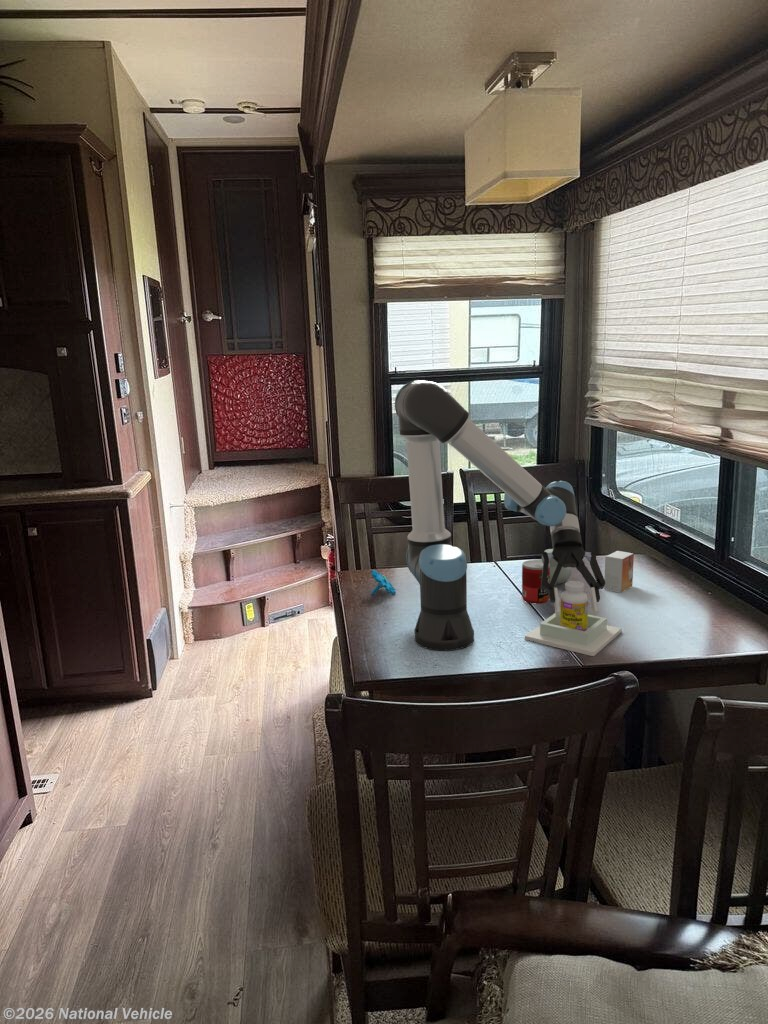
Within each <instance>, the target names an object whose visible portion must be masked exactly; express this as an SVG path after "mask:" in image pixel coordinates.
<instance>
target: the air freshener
mask: <svg viewBox="0 0 768 1024" xmlns="http://www.w3.org/2000/svg"><path fill="white" fill-rule="evenodd" d="M552 551H553V548H548V549H545V550H544V551H543V552H547V553H551V552H552ZM549 564H550V582H551V579H552V577H553V575H554V572H555V570H556V567H557V565H558V563H557V562H556V561H555V560H554V558H553V557H552V558H551V560H550V561H549ZM570 568H571V567H567V568H563V567H562V569H561V571H560V574H559V576H558V579H557V581H556V584H555V585H559V584H562V583H566V582H568V581H569V580H570V577H571V576H572V571H571V569H570Z"/></svg>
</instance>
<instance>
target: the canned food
mask: <svg viewBox="0 0 768 1024" xmlns="http://www.w3.org/2000/svg"><path fill="white" fill-rule="evenodd" d="M542 570H543V561H542V560H539V559H531V560H529V559H528V560H526V561H525V560H524V561H523V562H522V567H521V597H522V598H521V599H522V600H523V601H524V602H525V601H526V603H528V602H529V603H528V604H532V603H536V604H535V605H539V604H542V603H543V604H545V603H547V602H549V601H550V599H549V593H548V591H547V590H545V589H544V590H542V589H541V579H542ZM547 583H549V584H550V564H549V566H548V575H547Z"/></svg>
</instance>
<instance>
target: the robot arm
mask: <svg viewBox="0 0 768 1024" xmlns="http://www.w3.org/2000/svg"><path fill="white" fill-rule="evenodd" d="M394 410H395V413H396V416H397V417H398V429H399V436H400V437H401V438H402V439H404V440H405V442H406V455H407V470H408V472H407V473H408V483H409V497H410V512H411V525H412V530H411V531H410V532H409V533H408V535H407V546H408V548H407V550H406V552H405V554H406V555H405V557H406V558H405V561H406V564H407V565H406V566H407V568H408V571H409V572H410V573H411V574H412V576H413V577H414V578H415V579H416V581H417V582H418V584H419V591H420V593H419V596H420V597H419V598H420V599H419V600H420V612H419V615H418V619H417V621H416V625H415V628H414V642H415V643H416V644H417V645H418V646H420V647H422V648H425V649H428V650H433V651H455V650H461V649H463V648H467V647H469V646H471V644H473V643H474V641H475V630H474V628H473V625H472V621H471V618H470V616H469V613H468V609H467V608H468V607H467V606H468V604H467V602H468V599H467V597H468V596H467V593H468V592H467V591H468V589H467V588H468V587H467V586H468V585H467V569H468V563H467V558H466V557H467V556H466V554H465V552H464V551H463V550H462V549H461V548H460V547H457V546H453V545H452V533H451V532H450V531H449V530H447V529H446V526H445V525H446V524H445V513H444V511H445V509H444V496H443V495H444V494H443V478H442V464H441V463H442V461H441V447H440V445H441V444H443V445H444V444H445V445H446V444H449V445H450V446H451V447H452V448H453V449H455V450H456V451H457V452H458V453H459V454H460V455H461V456H463V457H464V458H465V459H466V460H467V461H469V462H470V463H471V464H472V465H473V466H474V467H475V468H476V469H477V470H478V471H480V473H482V474H483V475H484V476H485V477H486V478H487V479H489V480H490V481H491V482H492V483H493V484H495V486H497V487H498V488H499V489H500V490H502V491H503V492H504V496H503V497H504V498H503V503H504V507H505V508H506V509H507V511H508V510H509V511H513V512H515V513H516V512H518V513H523V514H524V515H526V516H527V517H530V518H532V519H533V520H535V521H536V522H538V523H539V524H540V525H543V526H546V527H549V529H550V535H551V537H550V538H551V545H552V549H553V551H552V552H551V553H547V552H544V551H543V552H542V555H541V561H543V570H542V579H541V589H542V590H544V589H545V590H547V591H548V593H549V603H551V604H552V603H553V605H554V614H556V616H559V614H560V609H561V604H560V598H559V590H558V587H555V586H556V585H557V584H556V581H557V579H558V576H559V574H560V571H561V569H562V567H563V568H567V567H569V568H572V569H574V568H575V569H576V570H577V571H578V572H579V573H580V575H581V576H582V578H583V579H584V580H585V581H586V583H587V585H588V586H589V587H590V590H589V599H590V604H591V611H592V615H593V616H598V615H597V614H598V613H599V608H598V603H599V602H600V600H601V595H600V590H603V589H604V586H605V580H604V578H605V577H604V576H603V573H602V570H601V568H600V566H599V565H600V564H599V562H598V560H597V552H596V551H595V550H592V551H591V552H590V551H589V552H588V551H585V550H584V549H585V548H584V547H583V543H582V535H581V529H580V523H579V517H578V511H577V510H578V509H577V504H576V503H577V502H576V496H575V492H574V488H573V486H572V485H571V484H570V483H569V482H568V481H564V480H559V481H552V482H550V483H549V484H548V485H546V487H545V486H544V485H542V484H541V482H539V481H538V480H537V479H536V478H535V477H534V476H533V475H532V474H531V473H530V472H528V471H527V470H526V469H525V468H524V467H523V466H522V465H521V464H519V463H518V462H517V460H515V458H513V457H512V456H511V455H510V454H508V452H507V451H505V450H504V449H503V448H502V447H501V446H500V445H499V444H498V443H496V442H495V441H494V440H493V439H492V438H491V437H490V436H489V435H487V434H486V433H485V432H484V431H483V430H482V429H481V428H480V427H479V426H478V425H476V424H475V423H474V421H472V420H471V415H470V413H469V412H468V410H466V409H465V407H463V406H462V405H461V404H460V403H459V401H458V400H457V399H455V397H453V395H452V394H451V393H450V392H449V391H448V390H447V389H446V388H445V387H444V386H442V385H441V384H440V383H437V382H434V381H430V380H429V381H428V380H425V379H422V380H421V379H420V380H419V379H416V380H411V381H409V382H407V383H405V384H403V386H401V387H400V389H399V390H398V391H397V393H396V395H395V399H394ZM552 557H553V558H554V560H555V561H556V562H557V563H558V565H557V567H556V570H555V572H554V575H553V577H552V579H551V582H550V584H549V583H547V575H548V566H549V561H550V560H551V558H552ZM584 558H586V560H587V562H589V565H590V569H591V571H592V573H591V572H590V570H589V569H588V567H587V565H586V564H585V561H584V560H583V559H584ZM592 574H593V575H592Z"/></svg>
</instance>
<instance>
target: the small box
mask: <svg viewBox="0 0 768 1024" xmlns="http://www.w3.org/2000/svg"><path fill="white" fill-rule="evenodd" d="M634 556H635V555H634V553H633V552H632V553H631V552H627V551H621V550H616V551H614V552H612V553H609V554H608V555H605V556H604V577H603V578H604V580H605V586H604V588H603V589H604V590H606V589H607V591H611V590H612V592H618V593H624V591H626V590H628V589H630V588H632V587H633V581H634V580H633V579H634V560H635V559H634Z"/></svg>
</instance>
